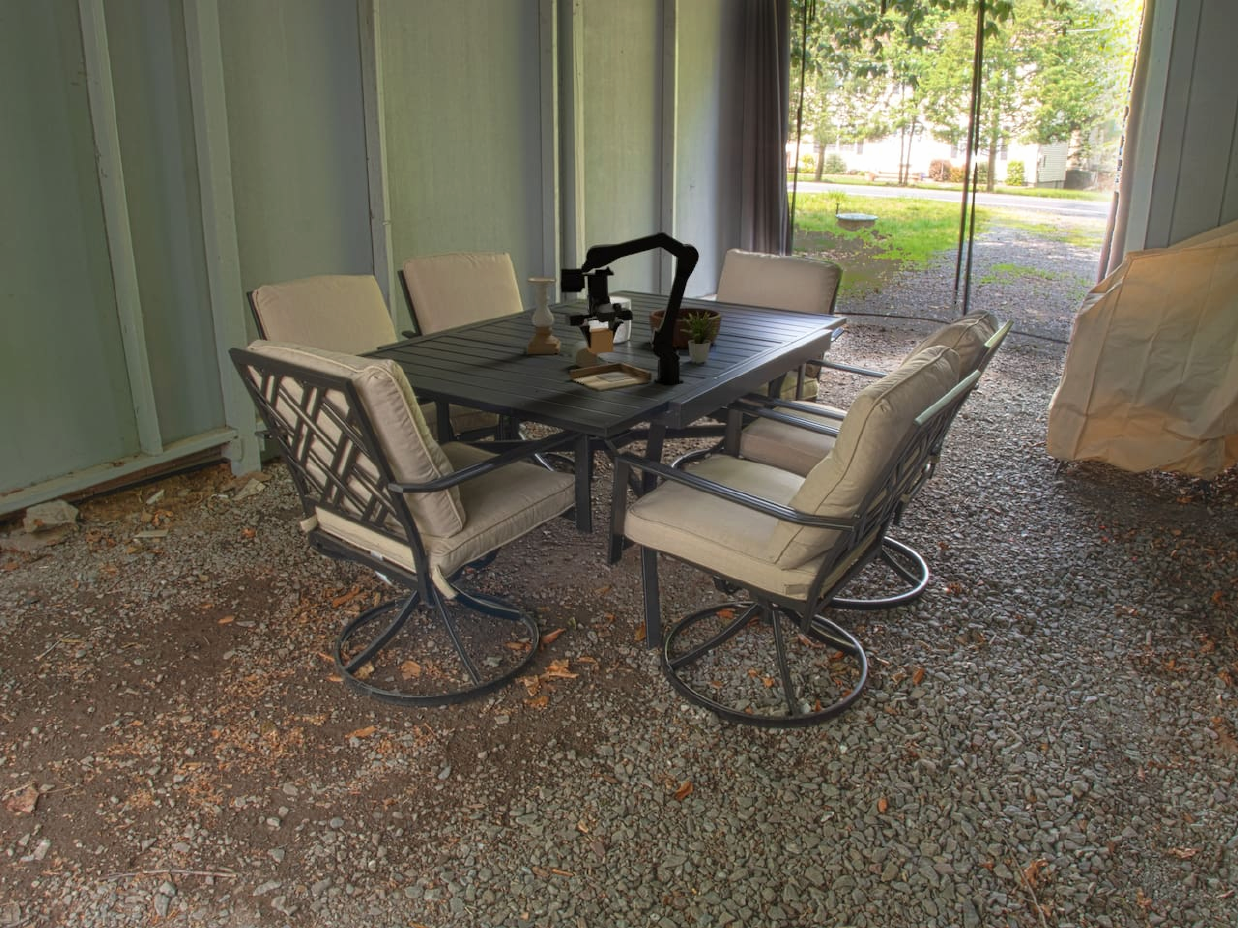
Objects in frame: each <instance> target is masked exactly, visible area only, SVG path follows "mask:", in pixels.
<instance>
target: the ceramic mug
mask: <svg viewBox="0 0 1238 928" xmlns="http://www.w3.org/2000/svg"><path fill="white" fill-rule="evenodd" d="M571 355H572V359H573V360H574V362H575V364H576V366H577V367H578V368H579V369H582V368H588V367H594V366H600V365H606V364H608V361H607V360H606V359H604V358H602V357H601V356H599V354H593V353H591V352H590V351H588V350H587V343H586V340H580V341H577V342H576V343H575V344H574V345H573V347H572V349H571Z"/></svg>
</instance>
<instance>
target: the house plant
mask: <svg viewBox="0 0 1238 928" xmlns="http://www.w3.org/2000/svg"><path fill="white" fill-rule="evenodd" d="M709 315H710V314H708V315H707V311H706V313H705V315H704V317H703V319H702V321H701V323H700V316H699V313H698V311H697V317H696V316H694V317H695V318H696V320H695V318H694V317H693V316H692V315H691V314H690V313H689V316H690V319H691V323H692V325H691V324H690V322H689V321H687V320H686V319H685V318H684V319H685V320H686V322H687V323H688V324H689V325H690V327H691V329H692V330H689V331H688V330H685V329H682V330H680V331H686V332H688V333H690V334H691V335H692V336H693V338H694V340H690V341H688V344H689V348H688V350H689V358H690V362H691V361H692V363H694V362H696V363H695V364H703V363H702V362H705V363H707V362H708V358H709V354H710V348H711V345H710V343H711V342H710V341H708V340H705V339H706V338H707V336H708V335H709V336H710V335H711V334H712V333H714V332H715V331H714V329H716V328H714V329H711V331H709V332H707V331H708V330H710V329H708V328H709V327H710V325H712V324H714V323H718V322H714V321H716V320H719V319H717V318H719V317H716V318H713V320H712V321H713V322H714V323H713V322H712V321H711V320H710V321H709V322H708V323H707V321H708V318H709ZM720 317H723V315H722V316H720ZM715 319H716V320H715ZM706 323H707V325H706ZM707 326H709V327H708V328H707ZM706 328H707V329H706ZM718 328H719V327H718ZM705 329H706V330H705ZM706 332H707V333H706ZM705 333H706V334H705ZM714 334H716V333H714ZM704 335H705V336H704ZM716 335H717V334H716Z"/></svg>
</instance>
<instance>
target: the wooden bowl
mask: <svg viewBox="0 0 1238 928" xmlns="http://www.w3.org/2000/svg"><path fill="white" fill-rule="evenodd" d="M665 309H666V308H661V309H655V310H653V311H651V312H650V313H649V314H648V318H649V319H648V320H649V326H650V330H651V331H650V332H651V334H652V336H653V330H654V327H656V328H659V327H660V325H661V323H662V320H663V316H664V313H665ZM697 311H698V313H699V316H700V323H701V321H702V319H703V317H704V315H705V313H706V311H707V315H708V314H710V315H709V318H708V321H707V323H708V322H709V321H710V320H711V321H712V320H713V318H716V317H719V318H717V319H719V320H716V319H715V320H716V321H714V322H718V323H714V322H713V321H712V322H713V323H714V324H712V325H710V327H709V326H707V328H708V327H709V328H708V329H710V330H708V331H707V332H709V331H711V329H714V328H716V329H714V331H715V332H714V333H716V334H717V335H716V334H714V333H712V334H711V335H710V336H709V335H708V336H707V338H706V339H705V340H708V341H710V342H711V343H710V346H711V345H713V344H714V343H715V341H716V340H717V338H718V337H719V336H718V335H719V333H720V329H721V324H722V317H723V314H722V313H721V312H719V311H718V310H714V309H710V308H701V307H680V310H679V313H678V317H677V320H676V324H675V327H674V341H673V346H674V347H680V348H679V349H689V344H688V341H690V340H694V338H693V336H692V335H691V334H690V333H688V332H686V331H680V330H682V329H685V330H688V331H689V330H692V329H691V327H690V325H689V324H688V323H687V322H686V320H687V321H689V322H690V324H691V325H692V323H691V319H690V316H689V313H690V314H691V315H692V316H693V317H694V316H696V317H697ZM720 316H722V317H720ZM684 318H685V319H686V320H685V319H684ZM694 318H695V317H694ZM695 320H696V318H695ZM707 323H706V325H707ZM718 327H719V328H718ZM707 328H706V329H707ZM706 329H705V330H706ZM707 332H706V333H707ZM706 333H705V334H706ZM704 336H705V335H704Z"/></svg>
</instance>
